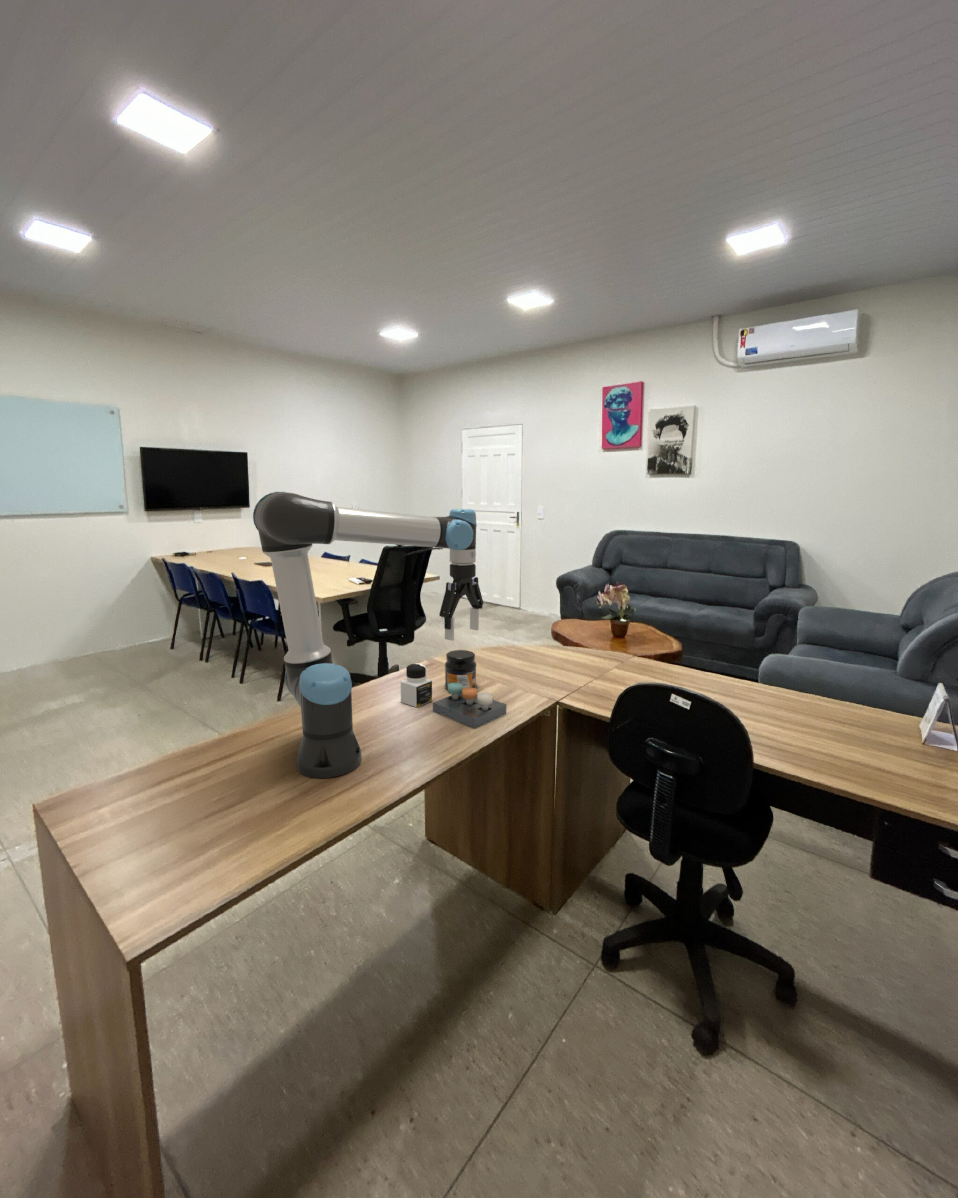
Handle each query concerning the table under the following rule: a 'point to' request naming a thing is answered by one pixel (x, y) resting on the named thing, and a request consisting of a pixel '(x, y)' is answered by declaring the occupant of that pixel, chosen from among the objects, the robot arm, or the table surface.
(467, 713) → the console
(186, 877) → the table surface
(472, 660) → the supplement container
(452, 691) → the teal button
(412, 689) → the medicine bottle
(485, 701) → the ivory button
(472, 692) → the orange button
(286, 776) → the table surface
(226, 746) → the table surface
